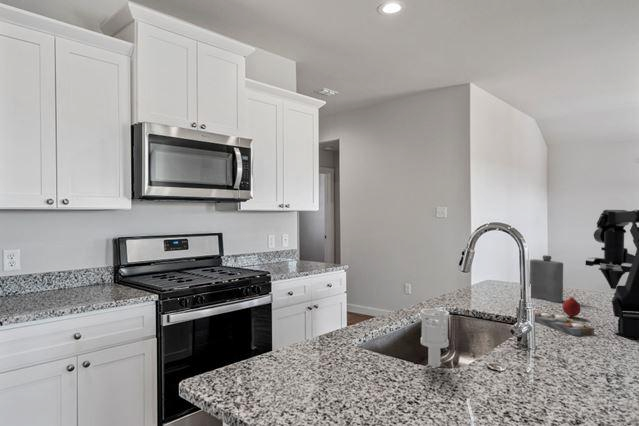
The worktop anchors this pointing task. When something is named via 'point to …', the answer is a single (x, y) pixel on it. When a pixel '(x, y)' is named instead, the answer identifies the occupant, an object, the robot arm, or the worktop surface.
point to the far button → (546, 314)
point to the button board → (563, 325)
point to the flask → (546, 279)
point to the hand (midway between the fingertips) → (613, 288)
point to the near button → (577, 325)
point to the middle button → (561, 318)
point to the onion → (571, 307)
